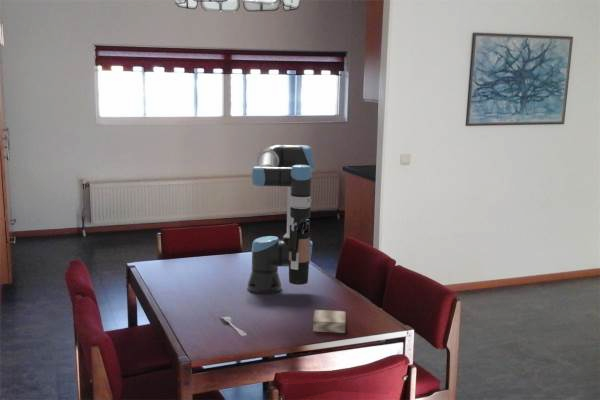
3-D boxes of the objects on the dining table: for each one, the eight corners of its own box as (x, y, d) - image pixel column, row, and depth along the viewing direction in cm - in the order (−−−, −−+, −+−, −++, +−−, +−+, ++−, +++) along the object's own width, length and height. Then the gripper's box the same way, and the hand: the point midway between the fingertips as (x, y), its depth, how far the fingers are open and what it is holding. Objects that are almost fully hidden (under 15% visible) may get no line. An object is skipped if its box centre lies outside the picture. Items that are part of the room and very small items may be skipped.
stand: (313, 331, 237) (313, 321, 237) (314, 319, 249) (314, 309, 248) (345, 332, 237) (345, 322, 236) (345, 321, 248) (345, 311, 248)
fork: (241, 343, 231) (241, 336, 231) (217, 318, 248) (217, 312, 247) (247, 341, 233) (248, 335, 232) (224, 317, 250) (224, 311, 249)
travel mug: (291, 278, 245) (292, 227, 241) (310, 280, 243) (312, 229, 239) (285, 283, 237) (287, 231, 234) (305, 285, 236) (307, 233, 232)
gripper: (298, 212, 224) (297, 274, 228) (320, 203, 243) (318, 260, 247) (279, 210, 227) (278, 271, 231) (302, 201, 246) (300, 258, 250)
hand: (298, 266), depth 239 cm, fingers closed on travel mug, 8 cm apart
